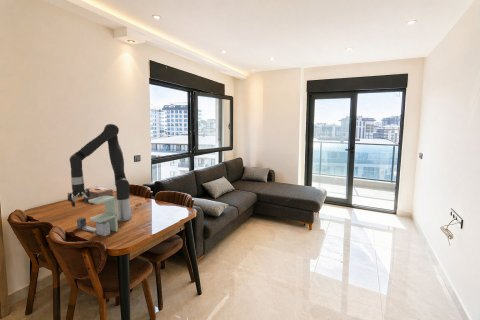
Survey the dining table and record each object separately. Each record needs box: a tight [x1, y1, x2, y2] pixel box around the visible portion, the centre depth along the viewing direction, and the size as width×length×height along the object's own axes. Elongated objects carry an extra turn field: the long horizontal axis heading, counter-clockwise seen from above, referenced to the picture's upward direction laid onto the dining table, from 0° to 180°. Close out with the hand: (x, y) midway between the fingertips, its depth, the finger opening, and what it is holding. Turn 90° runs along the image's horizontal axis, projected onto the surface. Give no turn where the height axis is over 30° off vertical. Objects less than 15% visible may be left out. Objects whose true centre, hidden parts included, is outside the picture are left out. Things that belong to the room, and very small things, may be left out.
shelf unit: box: [87, 195, 119, 232], centre depth 172 cm, size 13×10×25 cm
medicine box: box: [95, 220, 111, 237], centre depth 172 cm, size 8×4×9 cm, turn 68°
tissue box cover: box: [84, 185, 114, 200], centre depth 251 cm, size 26×14×10 cm, turn 61°
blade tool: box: [76, 217, 97, 234], centre depth 179 cm, size 4×18×7 cm, turn 64°
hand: (79, 204), depth 180 cm, fingers open, 8 cm apart
